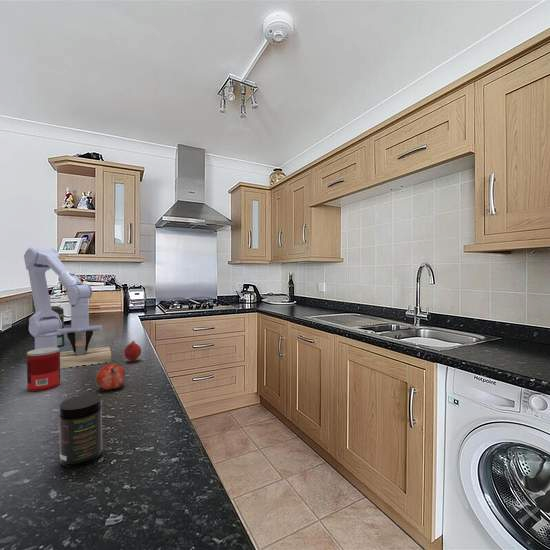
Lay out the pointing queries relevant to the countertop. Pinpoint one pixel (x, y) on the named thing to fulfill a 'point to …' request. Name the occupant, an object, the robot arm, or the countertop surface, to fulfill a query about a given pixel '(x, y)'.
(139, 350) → the onion
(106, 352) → the beige wooden board
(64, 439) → the supplement container
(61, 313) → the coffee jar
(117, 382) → the pomegranate
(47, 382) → the canned food
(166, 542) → the countertop surface
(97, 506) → the countertop surface
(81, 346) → the orange brown rectangular block
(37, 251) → the robot arm
